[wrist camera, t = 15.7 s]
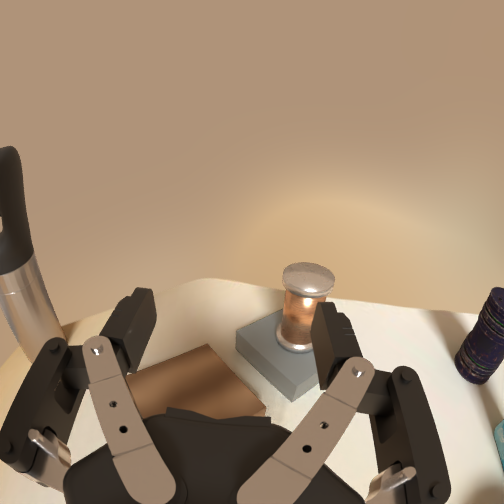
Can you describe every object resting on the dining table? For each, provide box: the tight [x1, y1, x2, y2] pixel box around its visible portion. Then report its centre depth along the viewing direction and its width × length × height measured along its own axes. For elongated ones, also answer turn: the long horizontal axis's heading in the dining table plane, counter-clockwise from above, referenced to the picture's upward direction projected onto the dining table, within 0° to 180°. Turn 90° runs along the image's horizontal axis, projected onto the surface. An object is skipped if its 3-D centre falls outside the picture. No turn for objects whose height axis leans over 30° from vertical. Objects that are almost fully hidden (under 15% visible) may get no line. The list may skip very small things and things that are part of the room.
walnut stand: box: [125, 344, 266, 419], centre depth 30 cm, size 13×13×4 cm
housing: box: [276, 262, 335, 354], centre depth 36 cm, size 7×7×11 cm
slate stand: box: [236, 308, 319, 402], centre depth 40 cm, size 13×13×4 cm
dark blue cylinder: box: [455, 287, 504, 384], centre depth 31 cm, size 10×10×15 cm
